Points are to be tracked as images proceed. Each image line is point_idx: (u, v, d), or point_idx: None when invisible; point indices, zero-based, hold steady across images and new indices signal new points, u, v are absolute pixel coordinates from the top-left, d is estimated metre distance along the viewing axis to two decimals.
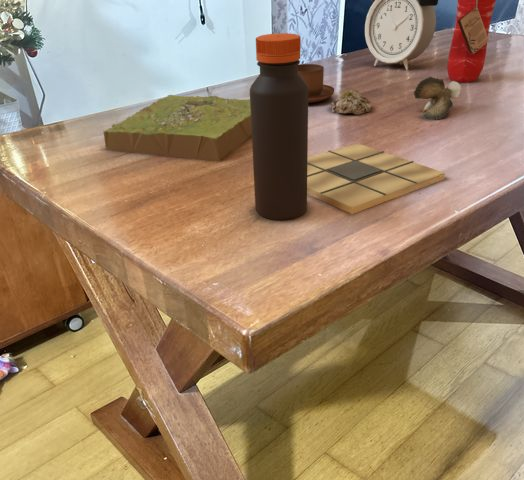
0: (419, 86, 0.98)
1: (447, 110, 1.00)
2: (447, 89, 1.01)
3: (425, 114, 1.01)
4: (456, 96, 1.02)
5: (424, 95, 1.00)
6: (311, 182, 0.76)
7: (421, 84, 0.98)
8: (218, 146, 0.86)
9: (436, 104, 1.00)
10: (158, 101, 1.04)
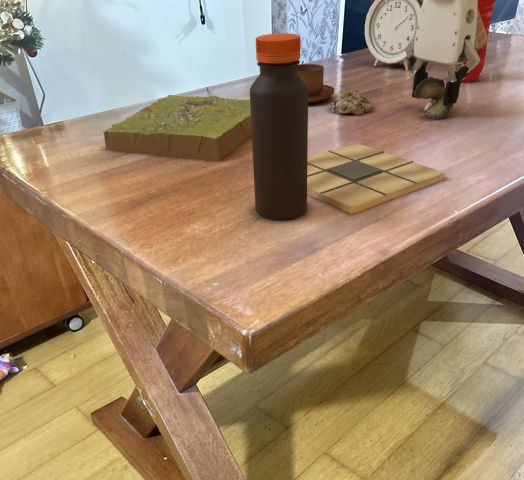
0: (420, 86, 0.98)
1: (447, 110, 1.00)
2: None
3: (425, 114, 1.00)
4: None
5: (424, 95, 1.00)
6: (311, 182, 0.76)
7: (421, 84, 0.98)
8: (218, 146, 0.86)
9: (436, 104, 1.00)
10: (158, 101, 1.04)
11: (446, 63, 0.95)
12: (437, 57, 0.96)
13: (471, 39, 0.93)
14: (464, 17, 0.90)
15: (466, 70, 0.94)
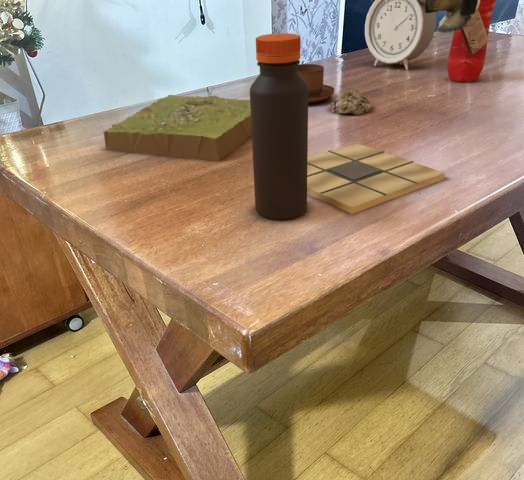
0: None
1: (465, 22, 0.90)
2: None
3: (440, 27, 0.91)
4: None
5: (439, 6, 0.90)
6: (311, 182, 0.76)
7: None
8: (218, 146, 0.86)
9: (453, 16, 0.90)
10: (158, 101, 1.04)
11: None
12: None
13: None
14: None
15: None
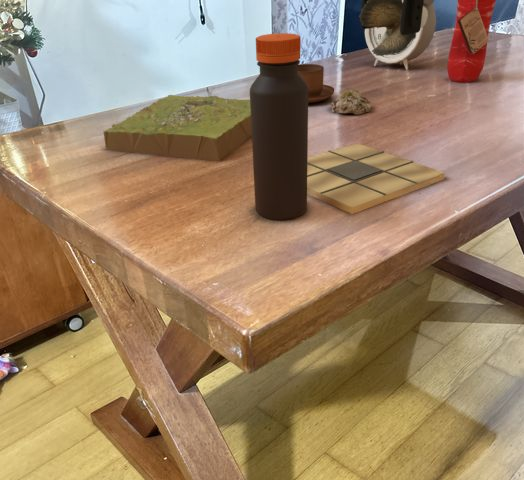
0: (367, 7, 0.71)
1: (407, 42, 0.72)
2: None
3: (377, 48, 0.73)
4: (421, 25, 0.74)
5: (374, 21, 0.72)
6: (311, 182, 0.76)
7: (370, 5, 0.70)
8: (218, 146, 0.86)
9: (392, 34, 0.72)
10: (158, 101, 1.04)
11: None
12: None
13: None
14: None
15: None
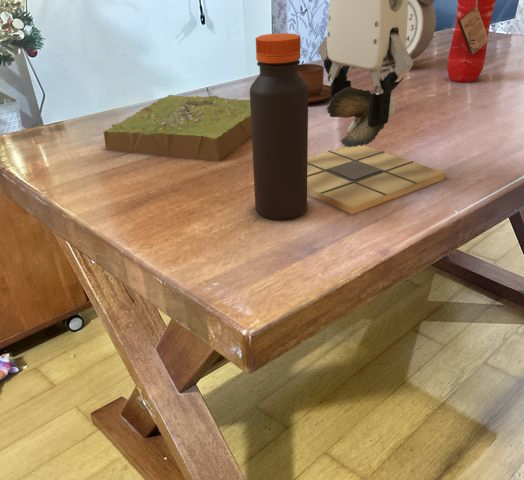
0: (335, 100, 0.70)
1: (375, 133, 0.72)
2: None
3: (345, 139, 0.72)
4: (390, 113, 0.74)
5: (342, 112, 0.72)
6: (311, 182, 0.76)
7: (337, 97, 0.70)
8: (218, 146, 0.86)
9: (360, 125, 0.72)
10: (158, 101, 1.04)
11: (368, 68, 0.67)
12: (356, 60, 0.68)
13: (400, 33, 0.65)
14: (387, 1, 0.62)
15: (395, 78, 0.66)
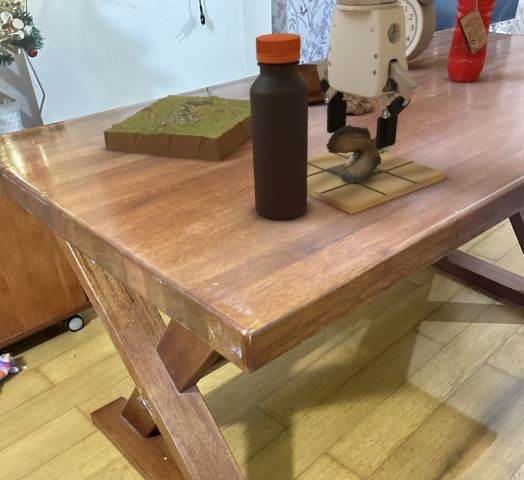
0: (334, 137, 0.73)
1: (372, 169, 0.75)
2: (374, 140, 0.76)
3: (343, 174, 0.75)
4: (386, 149, 0.77)
5: (341, 149, 0.75)
6: (311, 182, 0.76)
7: (336, 135, 0.73)
8: (218, 146, 0.86)
9: (358, 161, 0.75)
10: (158, 101, 1.04)
11: (368, 97, 0.69)
12: (356, 89, 0.70)
13: (399, 64, 0.67)
14: (385, 35, 0.64)
15: (402, 102, 0.66)
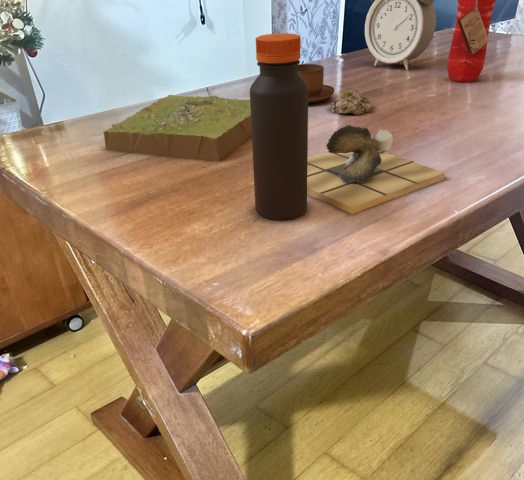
0: (334, 137, 0.73)
1: (372, 169, 0.75)
2: (374, 140, 0.76)
3: (343, 174, 0.75)
4: (387, 149, 0.77)
5: (341, 149, 0.75)
6: (311, 182, 0.76)
7: (336, 135, 0.73)
8: (218, 146, 0.86)
9: (358, 161, 0.75)
10: (158, 101, 1.04)
11: None
12: None
13: None
14: None
15: None
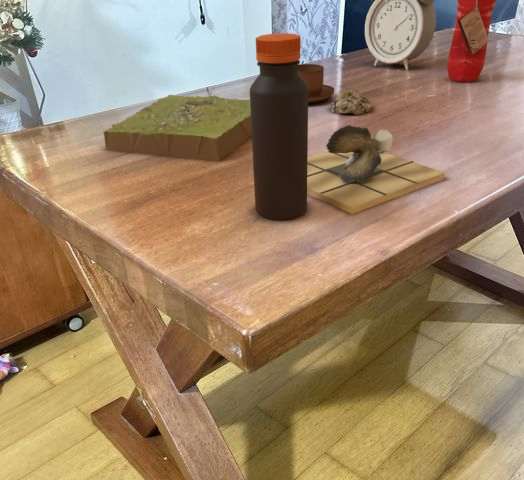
0: (334, 137, 0.73)
1: (372, 169, 0.75)
2: (374, 140, 0.76)
3: (343, 174, 0.75)
4: (386, 149, 0.77)
5: (341, 149, 0.75)
6: (311, 182, 0.76)
7: (336, 135, 0.73)
8: (218, 146, 0.86)
9: (358, 161, 0.75)
10: (158, 101, 1.04)
11: None
12: None
13: None
14: None
15: None
